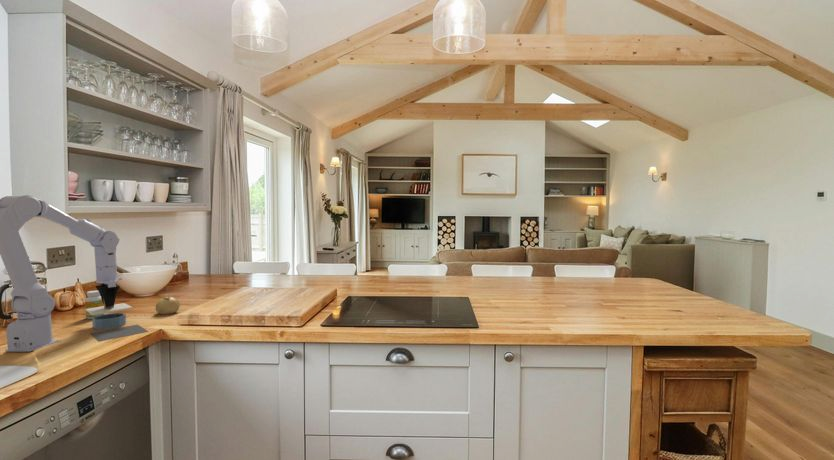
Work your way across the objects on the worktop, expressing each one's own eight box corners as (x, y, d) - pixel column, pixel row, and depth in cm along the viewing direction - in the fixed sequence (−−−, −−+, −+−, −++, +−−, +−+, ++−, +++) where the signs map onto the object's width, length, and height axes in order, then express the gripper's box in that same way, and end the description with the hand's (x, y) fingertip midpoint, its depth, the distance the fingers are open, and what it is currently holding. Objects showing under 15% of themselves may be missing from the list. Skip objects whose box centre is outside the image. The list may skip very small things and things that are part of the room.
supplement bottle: (94, 319, 153) (92, 293, 153) (82, 319, 155) (80, 292, 154) (108, 315, 159) (106, 290, 158) (96, 315, 160) (94, 289, 159)
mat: (148, 332, 135) (148, 331, 135) (98, 342, 126) (98, 341, 126) (137, 325, 144) (137, 324, 144) (90, 334, 134) (90, 333, 134)
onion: (150, 316, 157) (149, 297, 157) (168, 310, 165) (167, 292, 164) (167, 317, 155) (166, 298, 154) (185, 311, 162) (184, 293, 162)
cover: (132, 308, 143) (131, 295, 143) (92, 315, 135) (91, 301, 135) (124, 304, 151) (123, 291, 151) (85, 310, 143) (85, 297, 143)
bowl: (111, 330, 139) (111, 319, 138) (86, 330, 139) (85, 319, 139) (132, 322, 148) (131, 312, 147) (108, 322, 148) (107, 313, 148)
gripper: (125, 266, 140) (128, 306, 141) (115, 263, 150) (117, 300, 151) (99, 269, 135) (102, 310, 136) (90, 265, 145) (93, 304, 146)
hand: (108, 305), depth 143 cm, fingers closed on cover, 3 cm apart
